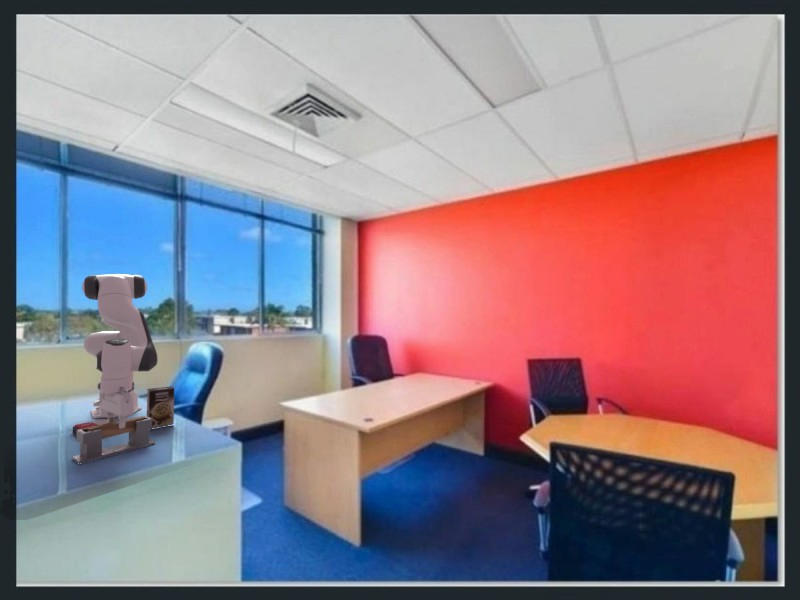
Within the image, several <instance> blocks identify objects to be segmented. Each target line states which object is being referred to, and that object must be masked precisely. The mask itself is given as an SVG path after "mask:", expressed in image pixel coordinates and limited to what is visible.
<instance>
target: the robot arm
mask: <svg viewBox="0 0 800 600" xmlns="http://www.w3.org/2000/svg"><path fill="white" fill-rule="evenodd" d="M81 285H82V286H81V288H82V289H81V290H82V292H83V294H84V295H85V297H86V298H87V299H88V300H92V301H97V309H98V313H99V316H101V317H102V321H103V322H104V324H106V325H107V327H111V328H113V329H116V330H109V331H108V330H105V331H104V330H103V331H97V332H92V333H89V334H88V335H87V336H86V338H85V339H84V341H83V348H84V349H85V351H86V352H87V353H88V354H90V356H93V357H94V358H95V359H96V370H98V371H99V372H101V373H102V374H101V376H100V382H98V383H97V390H99V391H98V393H99V394H98V398H97V400H96V401H93V407H96V408H93V409H90V413H91V416H92V418H93V419H101V418H107V420H108V423H111V422H116V418H118V421H119V423H118V428H120V429H121V428H125V422H126V420H127V419H128V417H130V416H133V414H134V413H137V412H138V411H140V410H142V406H139V398H138V393H137V392H136V391H135V381H134V372H149V371H151V370H152V369H153V368H155V367H156V366H157V365H158V360H159V356H158V355H159V354H158V351H157V350H156V347H155V345H154V342H153V339H152V335H151V332H150V328H149V326H148V323H147V320H146V317H145V315H144V312H143V311H142V310H140V309H137V308H136V307H135V305H134V303H133V299H136V300H137V299H140V298H141V299H142V298H143V297H144V296H145V295H146V293H147V291H148V283H147V281H146V280H145V278H144V277H143V275H138V274H133V275H131V274H126V273H125V274H124V273H123V274H121V273H115V274H99V275H98V274H91V275H88V276H86V277H85V278H84V280H83V281H82V284H81Z"/></svg>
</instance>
